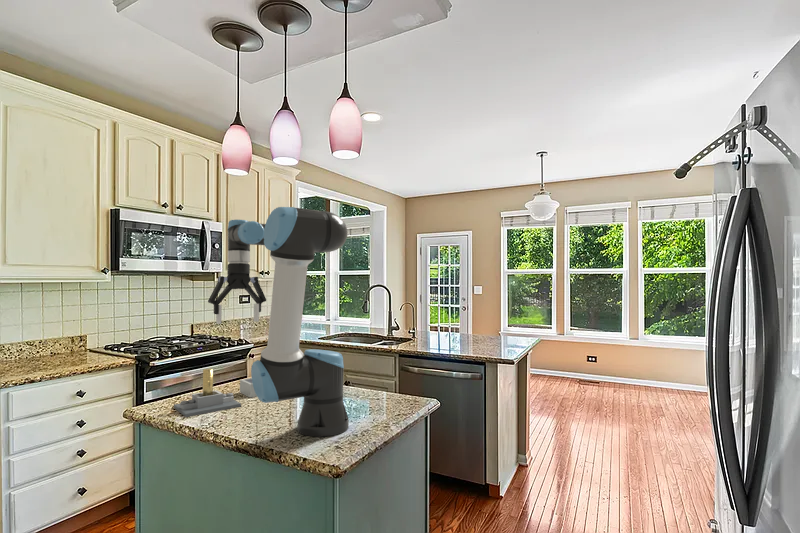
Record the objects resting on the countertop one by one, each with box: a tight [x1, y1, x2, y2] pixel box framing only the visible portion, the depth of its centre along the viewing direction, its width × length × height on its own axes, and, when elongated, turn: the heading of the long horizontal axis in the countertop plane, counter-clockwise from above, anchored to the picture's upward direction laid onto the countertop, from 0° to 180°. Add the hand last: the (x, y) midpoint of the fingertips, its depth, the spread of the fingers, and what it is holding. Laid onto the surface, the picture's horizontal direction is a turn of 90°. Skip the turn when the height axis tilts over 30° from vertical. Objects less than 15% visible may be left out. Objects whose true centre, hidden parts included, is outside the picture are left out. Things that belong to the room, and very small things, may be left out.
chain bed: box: [173, 389, 242, 418], centre depth 150 cm, size 14×18×4 cm
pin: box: [202, 368, 214, 396], centre depth 150 cm, size 3×3×12 cm
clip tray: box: [239, 377, 258, 398], centre depth 171 cm, size 10×18×5 cm, turn 132°
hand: (238, 322), depth 153 cm, fingers open, 13 cm apart
